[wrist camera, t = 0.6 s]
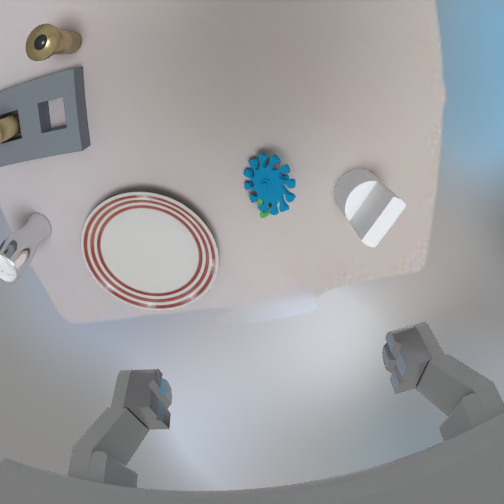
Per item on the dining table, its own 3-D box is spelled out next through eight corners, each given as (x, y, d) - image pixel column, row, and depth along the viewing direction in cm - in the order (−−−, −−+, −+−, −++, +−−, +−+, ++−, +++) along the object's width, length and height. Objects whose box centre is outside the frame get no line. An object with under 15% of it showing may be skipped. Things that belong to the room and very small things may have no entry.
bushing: (57, 32, 34) (25, 30, 25) (86, 23, 34) (56, 18, 26) (58, 61, 37) (26, 65, 29) (86, 54, 37) (56, 55, 29)
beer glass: (56, 220, 53) (20, 264, 41) (49, 245, 56) (17, 291, 44) (30, 205, 51) (-10, 245, 38) (24, 231, 54) (-11, 273, 41)
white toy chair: (352, 159, 51) (380, 185, 41) (387, 183, 54) (418, 212, 44) (325, 200, 55) (345, 234, 45) (361, 220, 58) (386, 255, 48)
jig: (8, 161, 45) (-22, 181, 37) (-3, 94, 37) (-36, 105, 29) (90, 145, 46) (64, 163, 38) (82, 67, 38) (52, 70, 30)
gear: (247, 144, 47) (298, 172, 43) (271, 139, 51) (319, 165, 47) (235, 202, 54) (279, 233, 50) (258, 193, 58) (300, 221, 54)
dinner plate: (191, 317, 70) (190, 327, 67) (78, 277, 62) (73, 287, 59) (243, 217, 57) (243, 226, 54) (101, 163, 49) (94, 170, 46)
